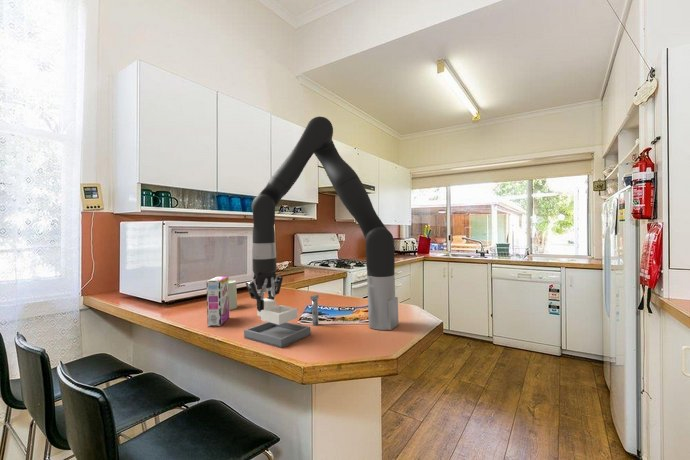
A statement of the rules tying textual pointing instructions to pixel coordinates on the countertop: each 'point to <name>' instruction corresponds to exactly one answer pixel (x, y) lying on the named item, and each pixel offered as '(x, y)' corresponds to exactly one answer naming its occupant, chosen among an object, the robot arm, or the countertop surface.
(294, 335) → the tray
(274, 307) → the collar
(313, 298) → the post
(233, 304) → the can
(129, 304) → the countertop surface
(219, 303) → the candy bar box
